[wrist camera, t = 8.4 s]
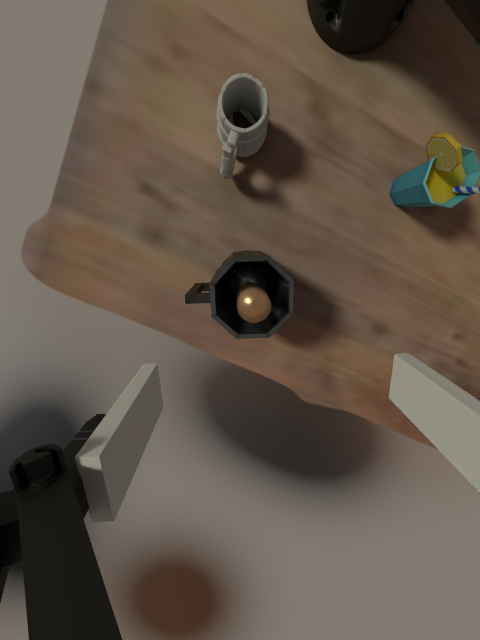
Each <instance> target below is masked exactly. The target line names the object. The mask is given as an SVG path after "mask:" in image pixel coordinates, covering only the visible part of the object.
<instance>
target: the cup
mask: <svg viewBox="0 0 480 640" xmlns="http://www.w3.org/2000/svg"><path fill="white" fill-rule="evenodd" d="M426 151H427V156H428V160H429V161H427V162H425V163H423V164H421V165H419V166H418V167H416V168H414V169H412V170H410V171H409V172H407V173H405V174H403V175H402V176H400V177H399V178H397V179H396V180H394V181H393V184H392V187H391V190H390V193H389V194H390V196H391V199H392V201H393V203H394V205H398V206H402V207H428V206H440V207H444V208H452V207H454V206H455V205H457V204H459V203H460V202H462V201H463V200H465V199H467V198H468V197H470V196H471V195H472V194H480V187H476V184H477V182H478V179H479V177H480V165H479V162H478V159H477V156H476V153H475V150H473V149H469V148H465V147H461V145H460V144H459V143H458V142H457V141H456V140H455V139H454V138H453V137H452V136H451V135H450V134H446V133H435V134H434V135H433V136H432V137H431V138H430V140H429V141H428V143H427V144H426Z"/></svg>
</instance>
